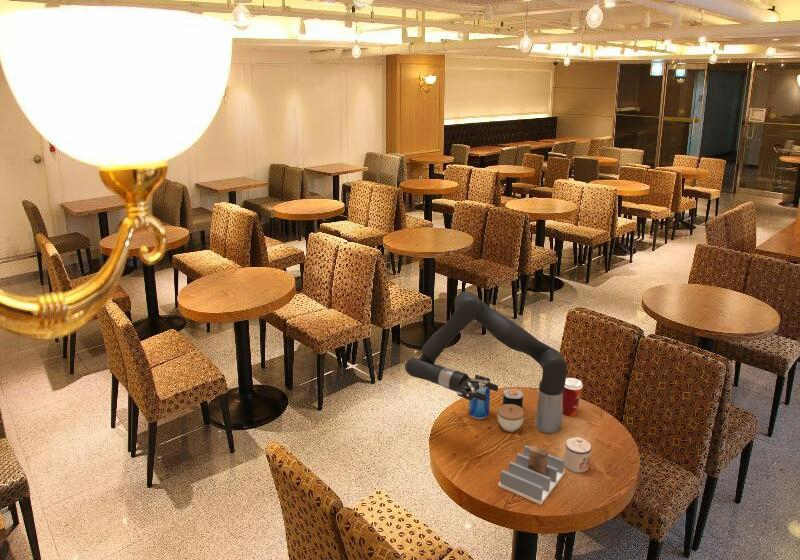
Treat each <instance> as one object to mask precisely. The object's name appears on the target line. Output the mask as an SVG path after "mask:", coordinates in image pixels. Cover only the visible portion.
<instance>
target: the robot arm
mask: <svg viewBox="0 0 800 560" xmlns="http://www.w3.org/2000/svg"><path fill="white" fill-rule="evenodd" d="M454 307H455V310H454V312H453V313H452V315H451V317H450V318H449V319H448V321H447V322H446V323H445V324H444V325H442V327H440V328H439V329H437V330H436V331H435V332H434V333H433V334H432V335H431V336H430V337H429V338H428V340H427V341H426V342H425V344H424V345H423V346H422V348H421V353H422V354H421V356H420V357H419V358H417V357H411V358H410V359H408V360H407V361H406V363H404V364H405V365H404V369H405V372H406V373H407V375H409V376H411V377H413V378H417V379H420V380H425V381H428V382H429V383H430V382H431V383H433V384H435V385H439V386H441V387H442V388H445V389H448V390H451V391H453V392H456V393H457V396H458V397H460V398H462V399H464V400H465V399H466V400H467V401H469V400H472V399H479V400H482V401H486V398H487V396H486V395H484V394H482V393H479V392H477V393H476V390H478V389H483V388H488V389H490V391H493V392H497V391H499V385H498V384H495V383H493V382H491V378H489V377H486V376H482V375H480V374H475V376H474V378H473V377H472V378H471V377H470V376H469V375H468V374H467V373H465V372H462V371H460V370H456V369H453V368H450V367H445V366H443V365H440V364H435V363H436V360H437V358H439V356H440V355H441V354H442V353H443V351H444V350H445V349H446V348H447V347H448V345H449V344H450V343H451V342H452V341H453V340H454V338H456V336H457V335H459V334H460V333H461V332H462V330H464V328H466V327H467V326H468V325H469V324H470V323H472V322H473V321H474V320H475V322H478V323H479V324H480V325H482V326H483V328H485V330H487V331H488V333H490V334H491V335H492V336H493V337H494V338H495V339H496V341H497V340H498V342H500V343H501V344H503V345H505V346H506V347H507V348H509V349H511V350H513V351H516V352H520V353H523V354H526V355H527V356H529V357H530V358H532V359H533V360H534V361H535V362H537V363H538V364H539V365H540V367H541V369H542V375H541V376H542V377H541V380H540V382H539V384H538V394H537V395H538V397H537V407H536V417H535V427H536V429H537V430H538V431H540V432H542V433H546V434H554V433H557V432H558V431H559V430H560V429H562V423H563V407H562V397H563V388H564V386H565V381H566V378H567V373H568V365H567V362H566V359H565V358H564V357H563V355H562V354H561V352H560V351H558V350H557V349H555V348H553V347H551V346H550V345H547V344H546V343H544V342H542V341H540V340H539V339H538V338H537V337H535V336H534V335H532V334H531V333H530V332H528V331H527V330H525V329H524V328H523V327H522V326H520V325H519V324H517V322H514V321H513V320H511V319H510V318H508V317H506V316H505V315H503V314H501V313H500V312H498V311H496V310H495V309H493V308H491V306H489V305H488V304H486V303H485V302H484V301H483V300H481V299H480V298H479V297H478V296H477V295H476V294H475V293H473V292H471V291H462V292H459V293H458V294H456V296H455V298H454ZM484 380H487V381H484ZM479 383H480V386H479ZM483 384H484V385H483Z"/></svg>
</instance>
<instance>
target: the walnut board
mask: <svg viewBox="0 0 800 560" xmlns="http://www.w3.org/2000/svg"><path fill="white" fill-rule="evenodd" d="M531 447H532V448H531V449H530V451H529V462H528V469H531V470H533V471H536V472H538V473H540V474H543V475H545V476H546V467H547V457H548V454H549V450H546V449H544V448H541V447H537V446H535V445H532V446H531Z"/></svg>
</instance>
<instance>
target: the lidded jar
mask: <svg viewBox="0 0 800 560" xmlns="http://www.w3.org/2000/svg"><path fill="white" fill-rule="evenodd" d="M496 411H497V421H498V424H499V425H500V427H501V428H502V429H503V430H504V431H506V432H511V433H512V432H515V431H517V430H518V429H520V428H521V426H522V425H523V423H524V419H525V410H524V408H523V407H522V408H521V407H520V406H517V405H514V404H504V405H503V404H501V405H499V406H498V407H497V410H496Z"/></svg>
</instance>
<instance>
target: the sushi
mask: <svg viewBox="0 0 800 560" xmlns="http://www.w3.org/2000/svg"><path fill="white" fill-rule="evenodd" d="M502 395H503V396H502V398H503V399H502V405H504V404H514V405H517V406H520V407H521V408H522V409H523V403H524V402H523V401H524V393H523V392H522V390H520V389H517V388H507V389H504V390H503V394H502Z"/></svg>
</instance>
